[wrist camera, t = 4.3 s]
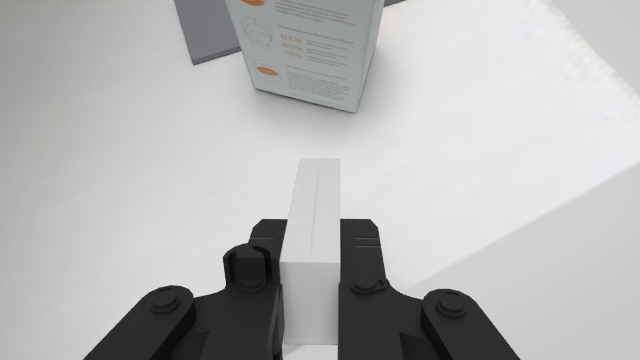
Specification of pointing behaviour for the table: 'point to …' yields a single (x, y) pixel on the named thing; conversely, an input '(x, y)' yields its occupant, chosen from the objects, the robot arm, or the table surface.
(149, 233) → the table surface
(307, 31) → the small box
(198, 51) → the grey rubber mat
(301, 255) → the robot arm
